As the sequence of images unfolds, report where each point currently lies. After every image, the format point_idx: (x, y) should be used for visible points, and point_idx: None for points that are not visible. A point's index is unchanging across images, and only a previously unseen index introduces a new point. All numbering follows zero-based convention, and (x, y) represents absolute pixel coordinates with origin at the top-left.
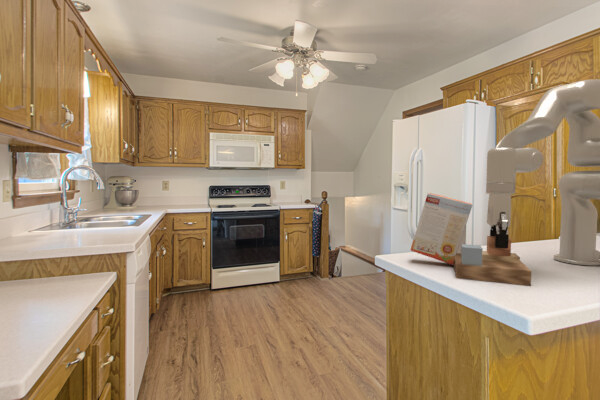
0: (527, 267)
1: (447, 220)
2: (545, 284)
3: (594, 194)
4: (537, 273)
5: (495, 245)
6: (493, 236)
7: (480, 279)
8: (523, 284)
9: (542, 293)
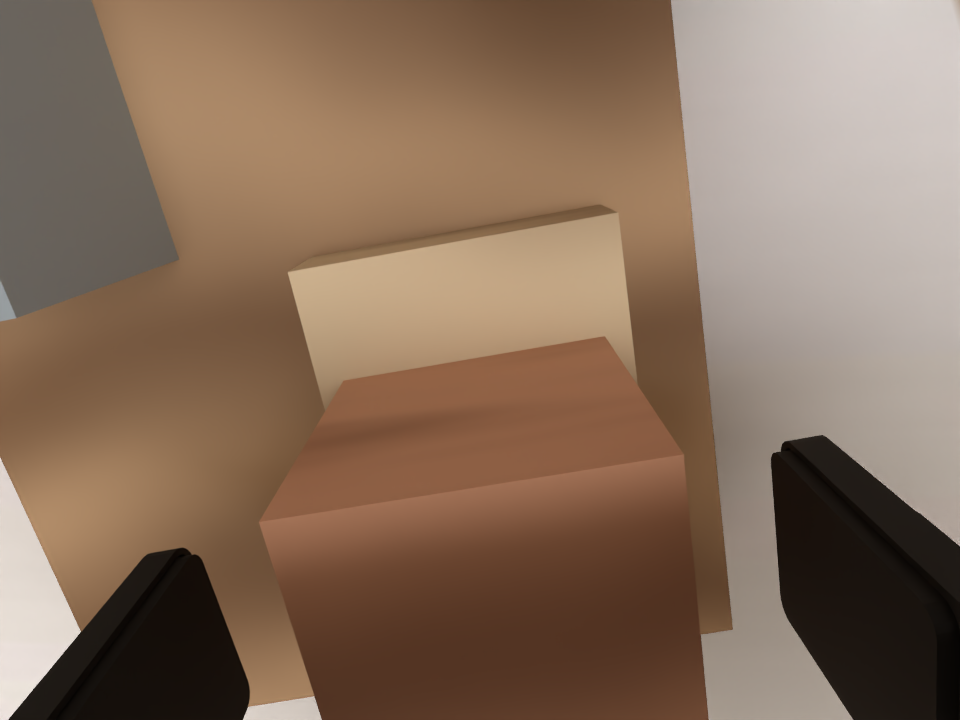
0: (264, 703)
1: None
2: (315, 704)
3: None
4: None
5: (134, 570)
6: (642, 584)
7: None
8: None
9: (34, 676)
